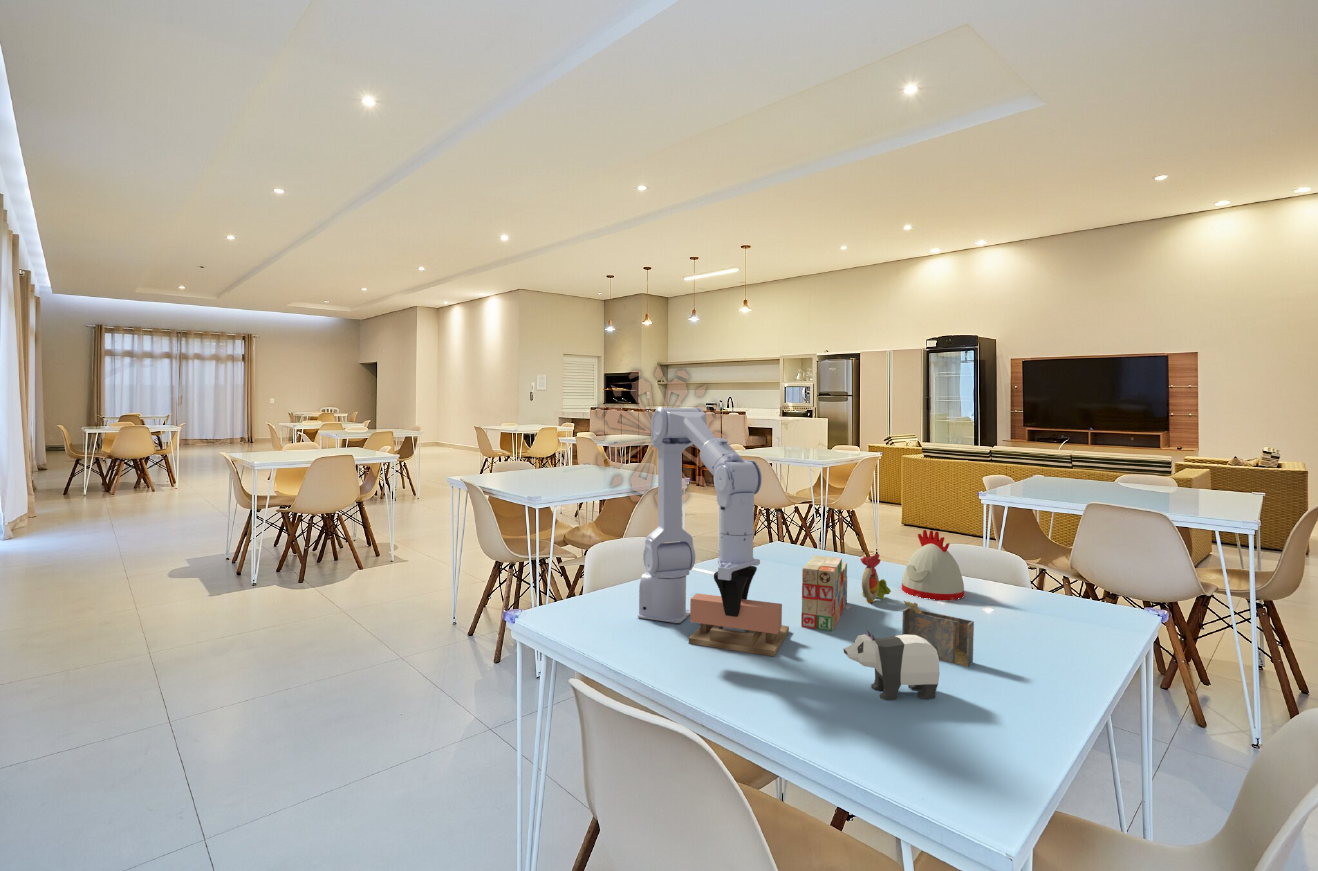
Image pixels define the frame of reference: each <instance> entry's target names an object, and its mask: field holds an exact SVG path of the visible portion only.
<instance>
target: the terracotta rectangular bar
mask: <svg viewBox="0 0 1318 871" xmlns="http://www.w3.org/2000/svg"><path fill="white" fill-rule="evenodd" d="M689 608H690V609H689V610H690V615H689V617H690V618H689V621H690V623H697V624H700V623H702V624H709V625H716V626H724V627H731V628H738V629H745V630H752V631H759V632H766V633H773V634H778V632H779V631H780V629H781V628H782V624H783V622H782V618H783V611H782V610H783V603H777V602H770V601H761V600H754V599H748V598H747V599H741V606H740V611H739V615H738V616H737V617H734V616H726V615H725V611H724V607H723V602H722V597H721V595H720V596H719V595H712V594H706V593H705V594H704V593H697V592H696V594H695V595H693V596H692V597H690V607H689Z"/></svg>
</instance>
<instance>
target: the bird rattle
mask: <svg viewBox="0 0 1318 871" xmlns="http://www.w3.org/2000/svg"><path fill="white" fill-rule="evenodd" d="M860 562H861V563H862V564H863V565H865V566H866V567H865V568H864V571H863V573H862V575H861V577H862V578H861V588H862V593H861V594H862V597H864V598H865V600H866V602H867V604H872V603H873V602H874V601H875V600H876V598H877V597H878V599H879V600H880V599H881V600H883V599H884V597H885V596H886V595H890V594H891V592H892V590H891V589H890V588H889V586H888V585H887V581H886V579H883V578H881V579H879V574H878V572H877V569H876V567H878V565H879V564H880V563H881V559H880V554H879V553H876V554H874V555H872V556H871V555H870V556H868V557H867V556H865V555H864V556H863V557H861V558H860Z"/></svg>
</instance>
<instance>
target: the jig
mask: <svg viewBox="0 0 1318 871" xmlns="http://www.w3.org/2000/svg"><path fill="white" fill-rule="evenodd" d="M789 632H790V626H789V625H782V628H781V629H780V631H779V632H778V634H773V633H766V632H759V631H752V630H749V632H748V633H745V632H738V631H731V630H724V629H723V626H716V625H709V624H702V623H699V627H698V628H697V629H696V630H695V631H694V632H693V633H692V634H691V635H690V636H689V637H688V644H691V645H696V646H697V645H698V646H704V647H711V648H718V649H724V650H730V651H735V652H742V653H743V652H744V653H750V654H757V655H763V656H769V657H775V656H776V654H777V653H778V651H779V649H780V647H781V645H782V644H783V642H784V640H785V639H786V637H787V635H788V634H789Z"/></svg>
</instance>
